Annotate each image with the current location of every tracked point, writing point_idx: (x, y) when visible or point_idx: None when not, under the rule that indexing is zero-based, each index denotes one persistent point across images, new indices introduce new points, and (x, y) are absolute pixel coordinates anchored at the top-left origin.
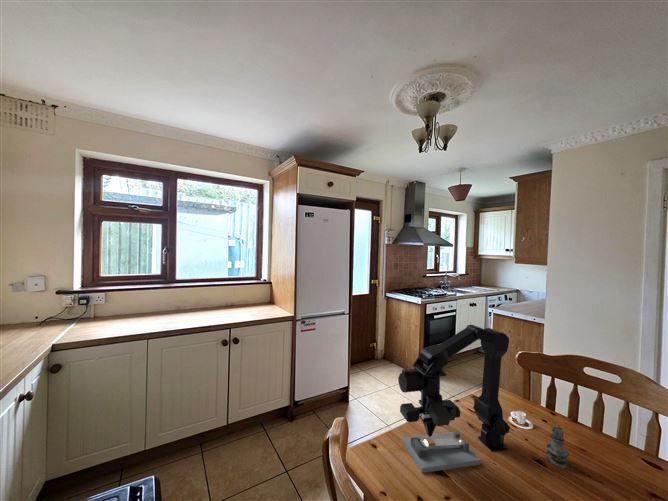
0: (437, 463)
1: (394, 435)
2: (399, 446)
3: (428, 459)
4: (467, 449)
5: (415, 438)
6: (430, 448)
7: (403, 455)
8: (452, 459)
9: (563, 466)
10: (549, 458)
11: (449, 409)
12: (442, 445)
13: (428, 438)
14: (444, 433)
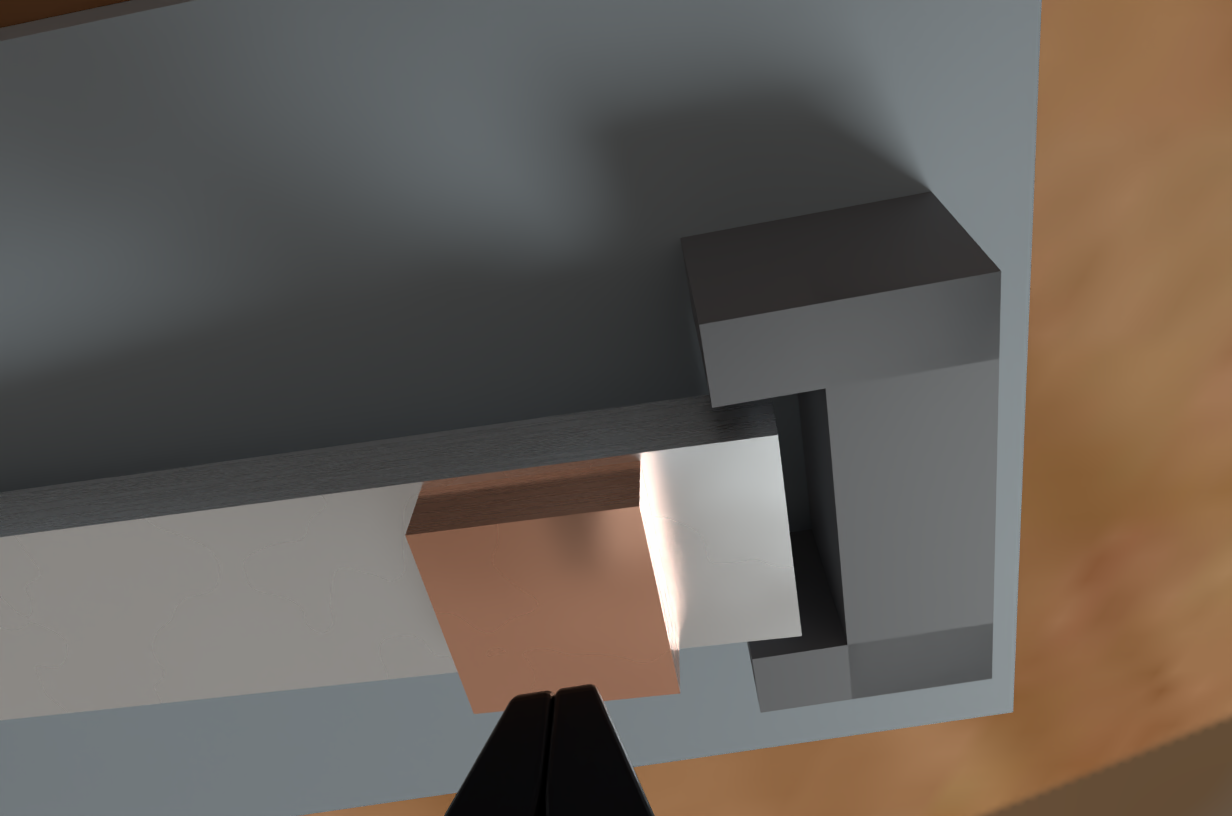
0: (502, 20)
1: (1058, 758)
2: (1103, 550)
3: (705, 156)
4: None
5: (884, 668)
6: (572, 424)
7: (1150, 344)
8: (39, 181)
9: None
10: None
11: None
12: (210, 508)
13: (564, 668)
14: None
